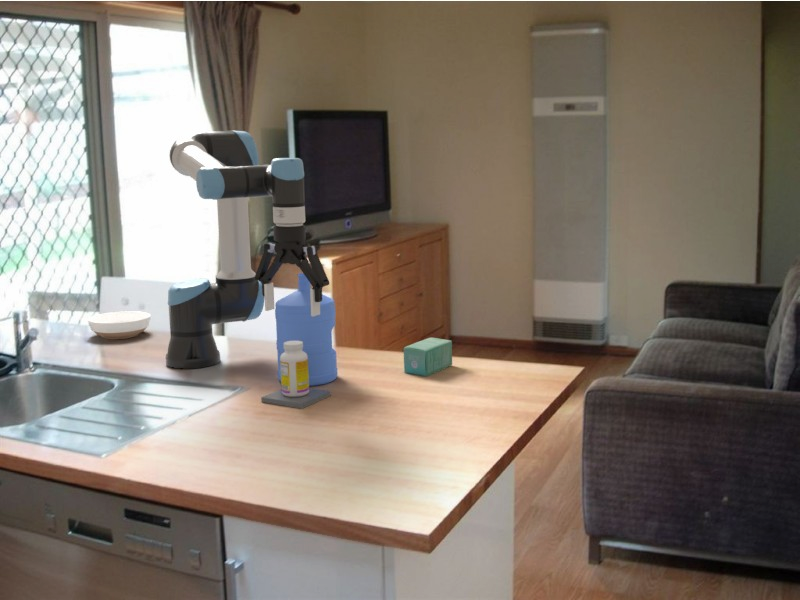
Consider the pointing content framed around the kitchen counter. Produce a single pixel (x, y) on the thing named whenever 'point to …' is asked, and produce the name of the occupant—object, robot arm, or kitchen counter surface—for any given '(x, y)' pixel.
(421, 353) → the box
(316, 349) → the water jug
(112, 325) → the bowl
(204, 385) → the kitchen counter surface
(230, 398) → the kitchen counter surface
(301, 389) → the supplement bottle
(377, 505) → the kitchen counter surface
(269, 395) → the coaster
